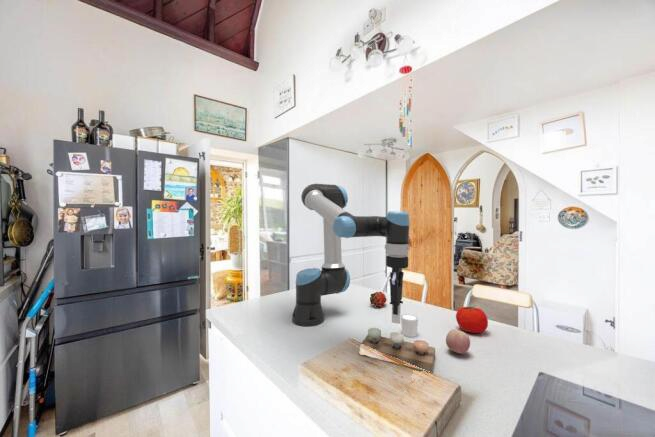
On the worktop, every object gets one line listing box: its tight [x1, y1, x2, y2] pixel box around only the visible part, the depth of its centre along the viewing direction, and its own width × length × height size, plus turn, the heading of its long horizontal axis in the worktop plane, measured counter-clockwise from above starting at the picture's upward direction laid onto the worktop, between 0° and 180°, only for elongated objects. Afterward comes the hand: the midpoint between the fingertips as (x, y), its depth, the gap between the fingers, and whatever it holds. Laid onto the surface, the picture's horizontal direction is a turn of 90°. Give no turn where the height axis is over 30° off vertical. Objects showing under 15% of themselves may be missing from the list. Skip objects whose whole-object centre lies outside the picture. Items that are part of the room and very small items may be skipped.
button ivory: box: [389, 331, 405, 349], centre depth 91 cm, size 5×5×6 cm
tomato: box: [455, 305, 489, 334], centre depth 111 cm, size 12×12×10 cm
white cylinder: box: [400, 313, 419, 338], centre depth 108 cm, size 7×7×7 cm
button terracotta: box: [413, 339, 429, 355], centre depth 88 cm, size 5×5×6 cm
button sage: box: [367, 327, 382, 344], centre depth 95 cm, size 5×5×6 cm
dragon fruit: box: [369, 291, 388, 308], centre depth 142 cm, size 8×8×12 cm
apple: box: [445, 329, 471, 355], centre depth 93 cm, size 8×8×8 cm
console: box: [361, 334, 436, 373], centre depth 91 cm, size 24×11×3 cm, turn 63°
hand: (395, 322), depth 92 cm, fingers closed
